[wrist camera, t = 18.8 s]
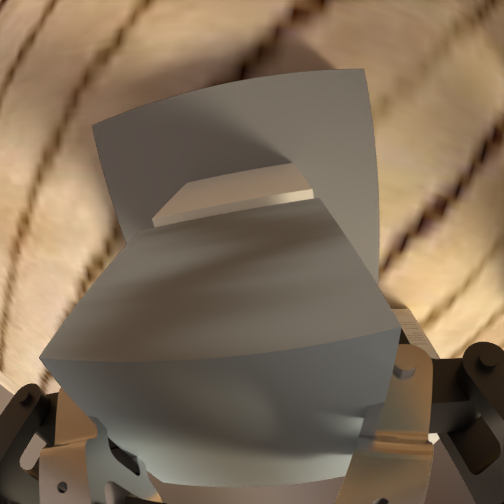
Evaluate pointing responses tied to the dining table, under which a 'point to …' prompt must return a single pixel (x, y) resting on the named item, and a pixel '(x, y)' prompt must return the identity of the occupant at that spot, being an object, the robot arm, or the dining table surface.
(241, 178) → the white cube
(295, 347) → the grey cube
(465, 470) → the robot arm
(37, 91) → the dining table surface
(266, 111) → the plinth
